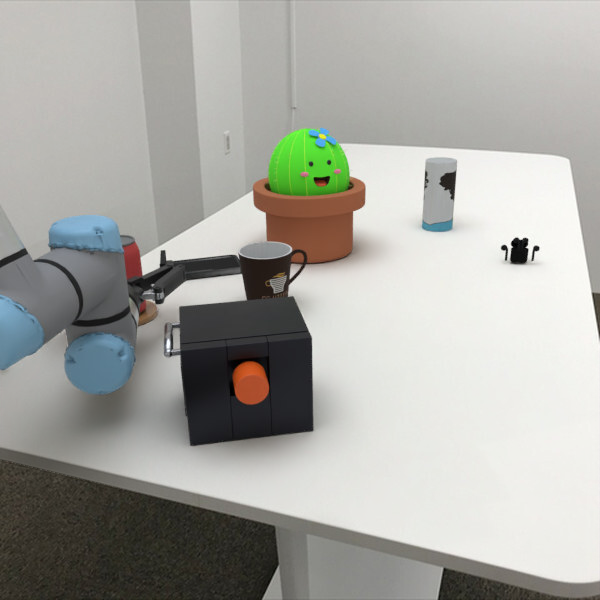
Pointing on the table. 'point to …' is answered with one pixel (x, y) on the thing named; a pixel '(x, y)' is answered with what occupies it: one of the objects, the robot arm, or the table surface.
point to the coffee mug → (267, 269)
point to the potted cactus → (310, 196)
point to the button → (250, 382)
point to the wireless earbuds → (519, 250)
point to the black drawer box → (232, 352)
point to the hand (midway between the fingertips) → (121, 261)
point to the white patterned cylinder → (439, 194)
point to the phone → (210, 266)
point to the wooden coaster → (148, 313)
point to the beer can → (132, 260)
